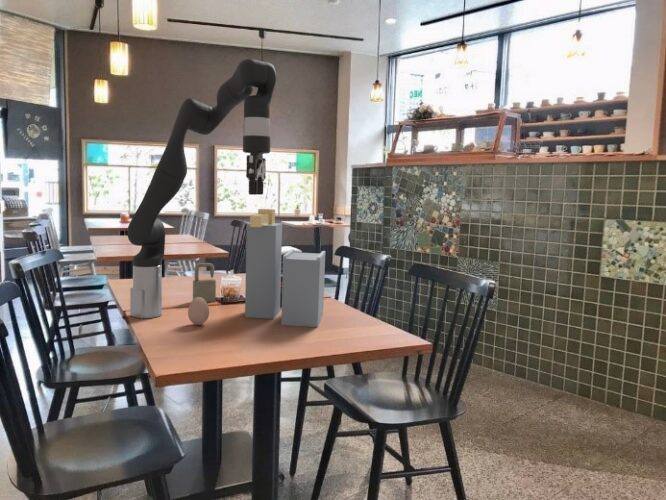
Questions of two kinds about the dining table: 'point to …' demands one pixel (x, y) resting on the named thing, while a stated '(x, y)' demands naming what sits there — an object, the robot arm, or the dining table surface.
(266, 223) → the brass stop bar
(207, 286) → the padlock
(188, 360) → the dining table surface
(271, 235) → the slate post and ledge
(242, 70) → the robot arm
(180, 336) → the dining table surface
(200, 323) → the egg
